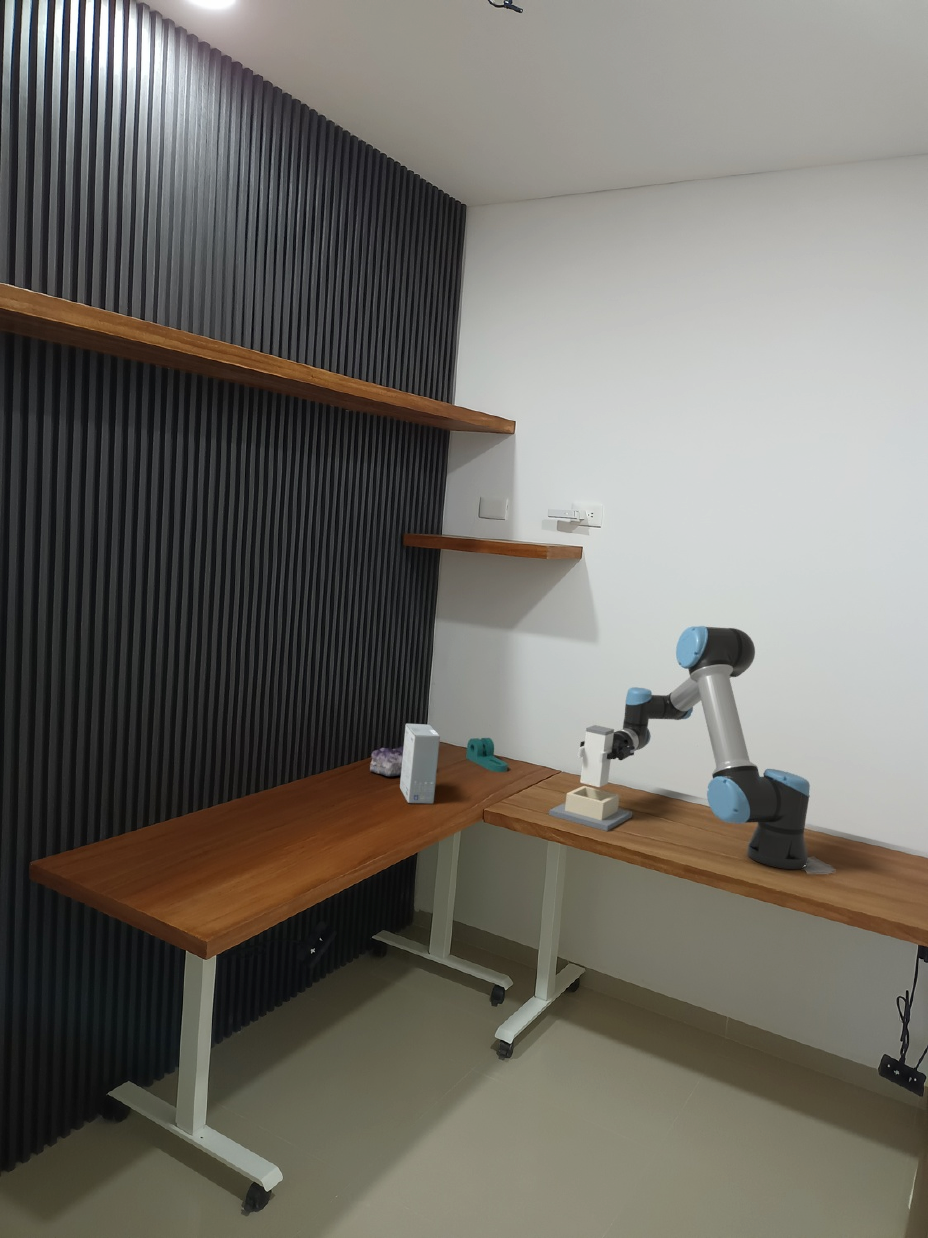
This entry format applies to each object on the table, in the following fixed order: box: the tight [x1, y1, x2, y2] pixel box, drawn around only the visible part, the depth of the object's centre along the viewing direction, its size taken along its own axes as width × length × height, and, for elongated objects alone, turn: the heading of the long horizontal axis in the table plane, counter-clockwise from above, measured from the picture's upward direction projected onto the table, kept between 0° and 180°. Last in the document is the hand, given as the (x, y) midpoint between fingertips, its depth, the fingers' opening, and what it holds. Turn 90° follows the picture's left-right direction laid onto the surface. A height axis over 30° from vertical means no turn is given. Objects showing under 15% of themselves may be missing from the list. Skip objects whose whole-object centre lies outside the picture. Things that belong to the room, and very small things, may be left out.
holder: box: [548, 785, 633, 832], centre depth 259 cm, size 18×18×6 cm
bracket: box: [465, 737, 509, 773], centre depth 305 cm, size 18×7×8 cm, turn 31°
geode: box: [369, 745, 404, 777], centre depth 285 cm, size 20×12×10 cm, turn 125°
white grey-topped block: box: [579, 724, 615, 788], centre depth 258 cm, size 6×6×16 cm
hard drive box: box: [399, 723, 441, 805], centre depth 262 cm, size 16×8×20 cm, turn 14°
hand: (590, 755), depth 253 cm, fingers closed on white grey-topped block, 6 cm apart
